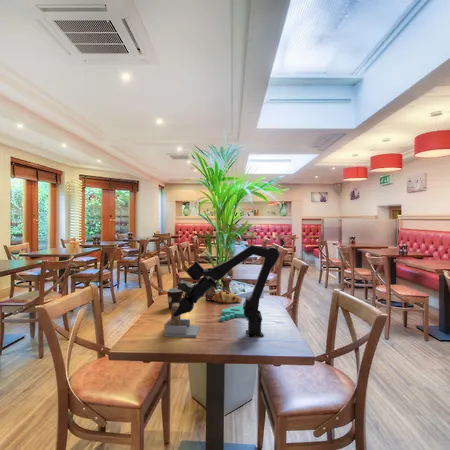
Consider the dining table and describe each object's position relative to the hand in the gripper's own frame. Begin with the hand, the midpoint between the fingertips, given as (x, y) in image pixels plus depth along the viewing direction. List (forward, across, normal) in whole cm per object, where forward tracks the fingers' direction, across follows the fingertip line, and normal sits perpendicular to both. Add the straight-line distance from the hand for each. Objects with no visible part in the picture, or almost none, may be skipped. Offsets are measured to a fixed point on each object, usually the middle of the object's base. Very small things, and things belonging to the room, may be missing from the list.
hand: (176, 312), depth 126 cm
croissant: (-7, -48, +20) cm, 53 cm away
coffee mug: (+12, -31, +1) cm, 33 cm away
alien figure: (-14, -24, +27) cm, 39 cm away
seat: (+4, 0, +8) cm, 9 cm away
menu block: (+6, 0, +5) cm, 8 cm away
